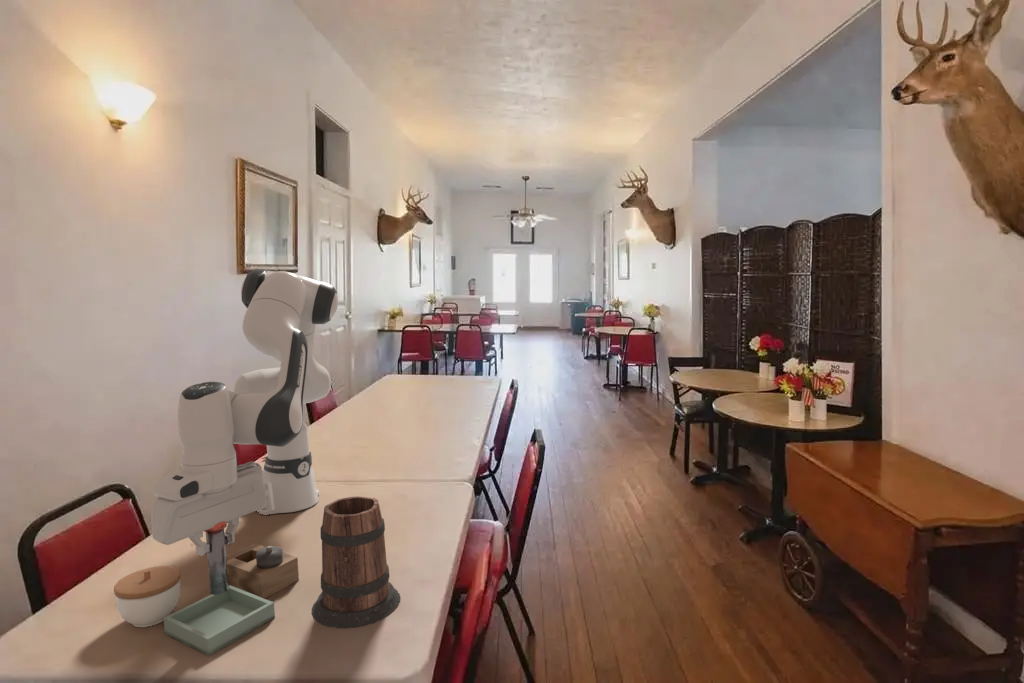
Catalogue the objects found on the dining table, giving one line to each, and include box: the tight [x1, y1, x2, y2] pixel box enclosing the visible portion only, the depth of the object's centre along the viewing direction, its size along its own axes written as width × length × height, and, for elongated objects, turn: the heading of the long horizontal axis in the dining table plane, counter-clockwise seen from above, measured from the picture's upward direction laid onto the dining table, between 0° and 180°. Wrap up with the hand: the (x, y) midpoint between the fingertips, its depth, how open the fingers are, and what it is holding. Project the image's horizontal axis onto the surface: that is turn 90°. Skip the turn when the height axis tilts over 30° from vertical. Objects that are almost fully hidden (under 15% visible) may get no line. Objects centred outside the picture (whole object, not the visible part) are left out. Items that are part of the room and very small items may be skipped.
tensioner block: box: [226, 543, 300, 599], centre depth 128 cm, size 14×9×8 cm, turn 59°
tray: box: [163, 585, 276, 657], centre depth 112 cm, size 13×13×3 cm
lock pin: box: [203, 521, 229, 595], centre depth 111 cm, size 4×4×13 cm
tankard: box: [311, 496, 402, 630], centre depth 121 cm, size 24×17×20 cm
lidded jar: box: [113, 565, 181, 628], centre depth 115 cm, size 11×11×9 cm
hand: (216, 548), depth 110 cm, fingers closed on lock pin, 3 cm apart
